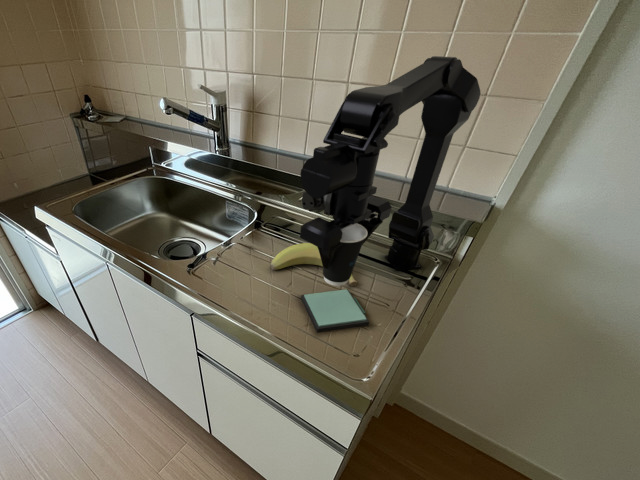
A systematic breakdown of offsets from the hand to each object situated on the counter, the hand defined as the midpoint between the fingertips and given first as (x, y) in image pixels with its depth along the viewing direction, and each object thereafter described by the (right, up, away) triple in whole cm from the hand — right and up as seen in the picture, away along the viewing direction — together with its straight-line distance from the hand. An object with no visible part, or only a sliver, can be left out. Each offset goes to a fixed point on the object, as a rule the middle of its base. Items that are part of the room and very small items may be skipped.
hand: (339, 260), depth 66 cm
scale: (+1, -10, +7) cm, 13 cm away
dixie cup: (0, -4, +3) cm, 5 cm away
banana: (0, -1, +18) cm, 18 cm away
